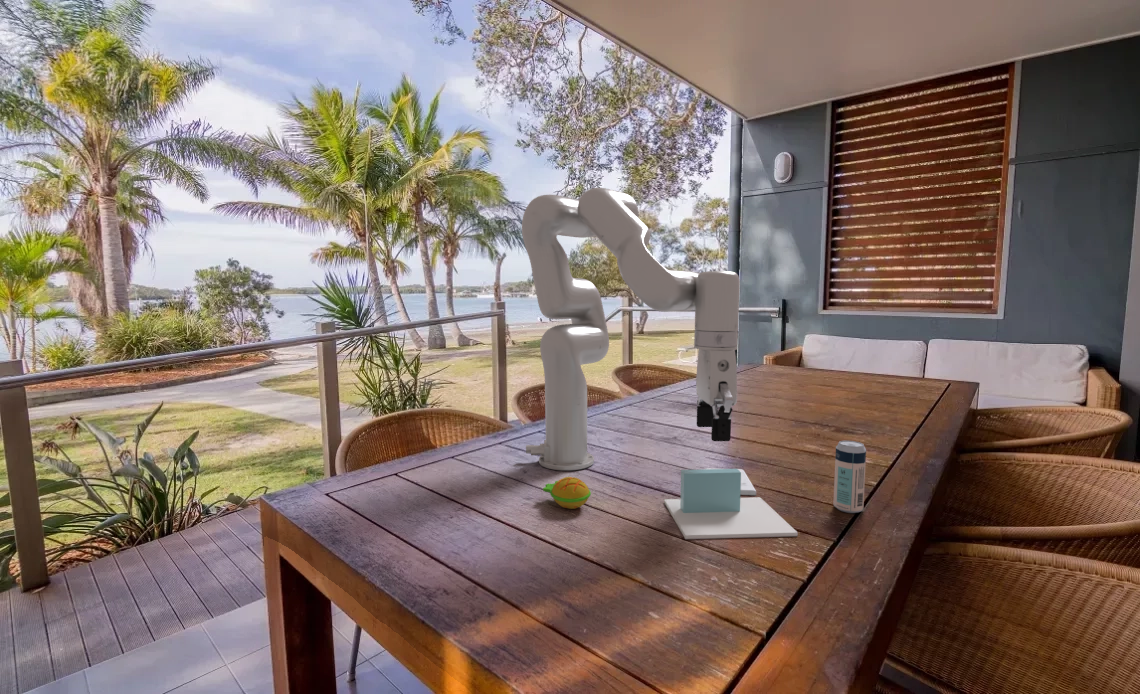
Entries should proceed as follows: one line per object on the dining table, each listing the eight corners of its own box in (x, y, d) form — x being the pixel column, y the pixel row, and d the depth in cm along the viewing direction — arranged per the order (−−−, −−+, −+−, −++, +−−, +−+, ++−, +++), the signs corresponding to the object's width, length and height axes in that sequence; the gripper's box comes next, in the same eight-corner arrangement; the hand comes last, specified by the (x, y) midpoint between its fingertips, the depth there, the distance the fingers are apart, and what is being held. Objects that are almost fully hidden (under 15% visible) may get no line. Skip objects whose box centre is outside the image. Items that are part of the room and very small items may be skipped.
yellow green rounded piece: (568, 518, 93) (567, 488, 92) (536, 501, 101) (535, 473, 100) (598, 509, 97) (598, 480, 97) (565, 493, 105) (565, 466, 105)
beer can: (860, 506, 98) (863, 441, 97) (865, 516, 93) (869, 448, 92) (831, 502, 100) (834, 438, 98) (835, 512, 95) (837, 445, 94)
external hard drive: (743, 476, 116) (756, 498, 103) (704, 475, 117) (712, 496, 104) (743, 469, 116) (756, 489, 103) (704, 468, 117) (712, 488, 104)
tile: (683, 512, 94) (684, 473, 93) (680, 508, 96) (681, 469, 95) (740, 511, 94) (741, 472, 94) (735, 506, 96) (736, 468, 96)
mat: (685, 539, 85) (685, 535, 85) (664, 502, 100) (664, 499, 100) (797, 536, 86) (797, 532, 86) (759, 500, 101) (759, 497, 101)
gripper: (754, 345, 89) (749, 447, 91) (721, 336, 106) (718, 422, 108) (708, 345, 89) (705, 447, 90) (683, 336, 106) (681, 422, 108)
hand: (712, 433), depth 99 cm, fingers open, 9 cm apart
